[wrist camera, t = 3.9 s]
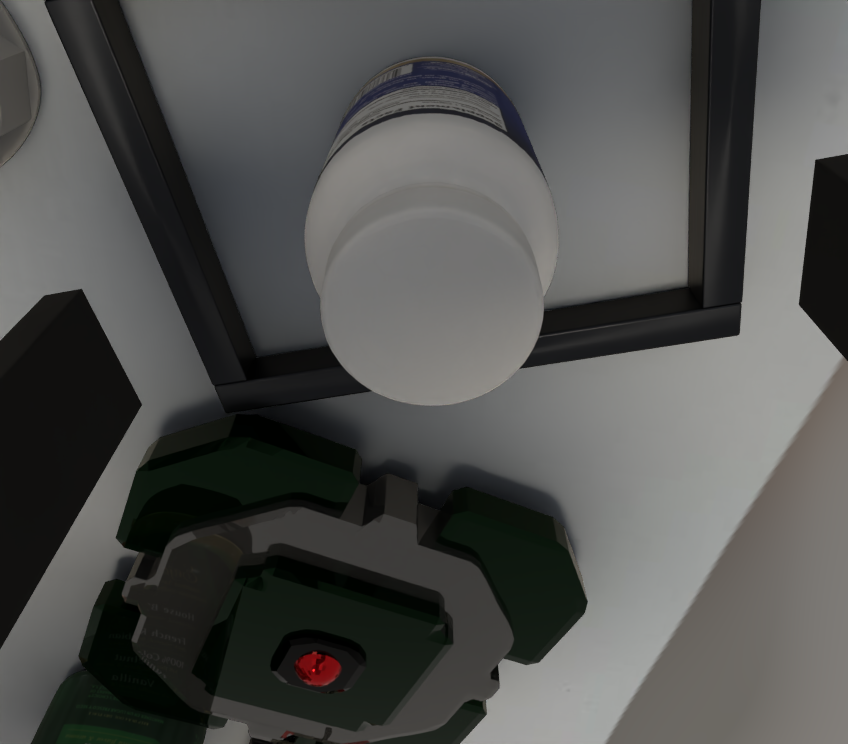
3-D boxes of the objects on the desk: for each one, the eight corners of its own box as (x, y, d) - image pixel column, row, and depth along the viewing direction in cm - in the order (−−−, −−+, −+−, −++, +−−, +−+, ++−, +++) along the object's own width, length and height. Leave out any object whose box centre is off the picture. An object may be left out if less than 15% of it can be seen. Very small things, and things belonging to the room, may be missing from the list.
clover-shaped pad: (614, 518, 29) (642, 613, 25) (428, 733, 38) (427, 827, 34) (178, 361, 25) (131, 446, 21) (89, 645, 34) (45, 739, 30)
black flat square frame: (235, 389, 25) (223, 418, 24) (-34, -252, 16) (-81, -266, 14) (724, 312, 23) (742, 339, 22) (762, -476, 14) (799, -519, 12)
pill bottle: (510, 245, 22) (555, 448, 14) (338, 232, 22) (282, 429, 14) (540, 60, 19) (617, 182, 11) (340, 43, 19) (270, 155, 11)
